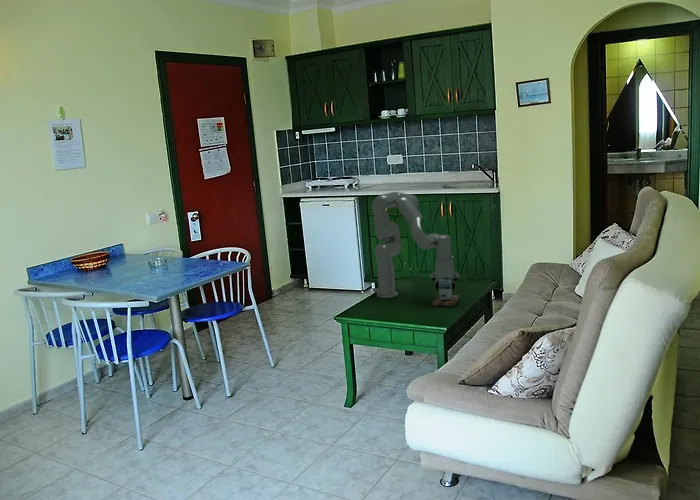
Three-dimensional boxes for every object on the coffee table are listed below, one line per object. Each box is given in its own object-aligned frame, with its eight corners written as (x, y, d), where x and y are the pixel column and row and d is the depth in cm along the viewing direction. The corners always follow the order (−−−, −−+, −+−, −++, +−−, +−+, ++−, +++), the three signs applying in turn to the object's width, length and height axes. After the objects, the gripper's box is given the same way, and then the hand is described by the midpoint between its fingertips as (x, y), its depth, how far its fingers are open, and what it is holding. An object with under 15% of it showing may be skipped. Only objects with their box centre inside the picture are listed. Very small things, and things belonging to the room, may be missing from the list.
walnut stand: (432, 306, 328) (432, 302, 327) (437, 299, 342) (437, 294, 341) (454, 307, 324) (454, 302, 323) (459, 299, 338) (459, 295, 337)
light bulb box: (452, 299, 327) (451, 280, 325) (439, 300, 327) (439, 280, 325) (451, 294, 337) (450, 275, 335) (438, 294, 338) (438, 275, 336)
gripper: (461, 256, 329) (462, 288, 332) (429, 256, 335) (430, 287, 338) (459, 259, 322) (460, 291, 325) (426, 259, 328) (428, 290, 331)
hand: (445, 289), depth 331 cm, fingers closed on light bulb box, 7 cm apart
